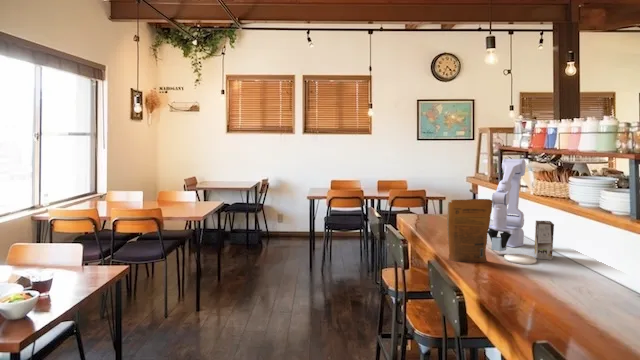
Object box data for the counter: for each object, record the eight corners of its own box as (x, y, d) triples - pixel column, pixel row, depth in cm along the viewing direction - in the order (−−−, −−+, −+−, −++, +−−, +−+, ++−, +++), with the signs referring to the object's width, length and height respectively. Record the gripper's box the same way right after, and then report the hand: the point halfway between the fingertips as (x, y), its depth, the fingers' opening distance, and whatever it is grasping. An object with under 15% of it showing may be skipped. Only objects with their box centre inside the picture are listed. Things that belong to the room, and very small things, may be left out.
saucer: (515, 254, 196) (516, 252, 196) (542, 261, 185) (542, 258, 185) (497, 258, 189) (498, 256, 189) (524, 266, 178) (524, 263, 178)
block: (497, 247, 199) (498, 236, 199) (506, 250, 196) (506, 238, 195) (491, 249, 197) (491, 237, 197) (499, 251, 193) (500, 239, 193)
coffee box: (552, 260, 187) (554, 224, 186) (536, 258, 189) (538, 223, 188) (549, 254, 196) (550, 220, 194) (533, 253, 198) (535, 219, 196)
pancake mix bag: (492, 264, 181) (494, 199, 178) (446, 262, 184) (448, 199, 182) (488, 259, 188) (490, 197, 185) (444, 258, 191) (446, 197, 188)
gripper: (481, 216, 199) (480, 244, 200) (508, 221, 187) (507, 251, 188) (490, 214, 203) (489, 242, 204) (518, 219, 190) (517, 249, 192)
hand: (498, 246), depth 196 cm, fingers closed on block, 4 cm apart
